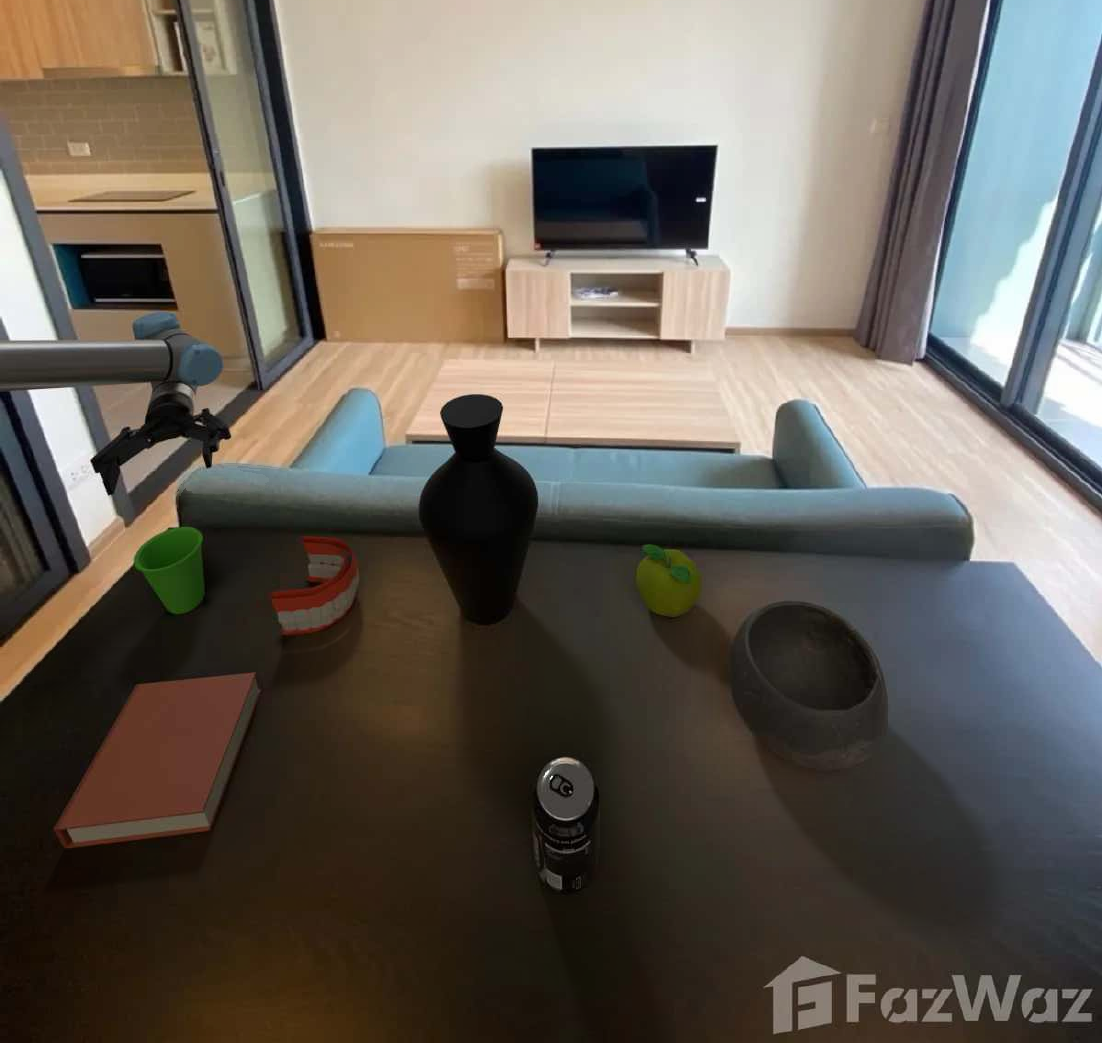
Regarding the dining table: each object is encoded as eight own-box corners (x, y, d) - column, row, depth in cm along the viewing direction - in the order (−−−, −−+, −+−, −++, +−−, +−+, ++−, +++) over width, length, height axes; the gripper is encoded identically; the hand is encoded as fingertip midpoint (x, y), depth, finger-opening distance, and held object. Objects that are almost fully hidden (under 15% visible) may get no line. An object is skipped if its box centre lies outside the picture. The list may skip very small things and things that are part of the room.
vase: (420, 581, 97) (394, 395, 83) (517, 547, 103) (508, 369, 90) (449, 670, 82) (424, 462, 69) (560, 624, 89) (556, 426, 75)
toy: (348, 639, 87) (339, 599, 84) (278, 639, 87) (267, 599, 84) (372, 572, 99) (366, 534, 96) (311, 572, 99) (302, 535, 96)
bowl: (907, 744, 72) (930, 673, 67) (811, 837, 64) (830, 763, 59) (785, 634, 86) (797, 569, 82) (694, 698, 78) (701, 629, 73)
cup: (172, 635, 88) (152, 580, 84) (141, 609, 93) (121, 555, 88) (230, 593, 95) (214, 540, 91) (199, 570, 100) (182, 518, 95)
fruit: (663, 642, 85) (667, 591, 82) (624, 596, 93) (626, 547, 89) (710, 614, 90) (716, 564, 86) (669, 573, 97) (673, 525, 93)
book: (64, 848, 64) (53, 829, 63) (143, 702, 79) (136, 684, 77) (210, 830, 65) (202, 811, 64) (261, 690, 80) (255, 672, 79)
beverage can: (554, 806, 67) (552, 737, 62) (609, 843, 64) (611, 773, 59) (521, 872, 61) (517, 802, 57) (580, 916, 58) (580, 845, 54)
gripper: (248, 409, 118) (250, 469, 101) (98, 445, 108) (72, 519, 91) (239, 376, 115) (239, 432, 98) (84, 411, 105) (54, 480, 88)
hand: (158, 474), depth 94 cm, fingers open, 13 cm apart
